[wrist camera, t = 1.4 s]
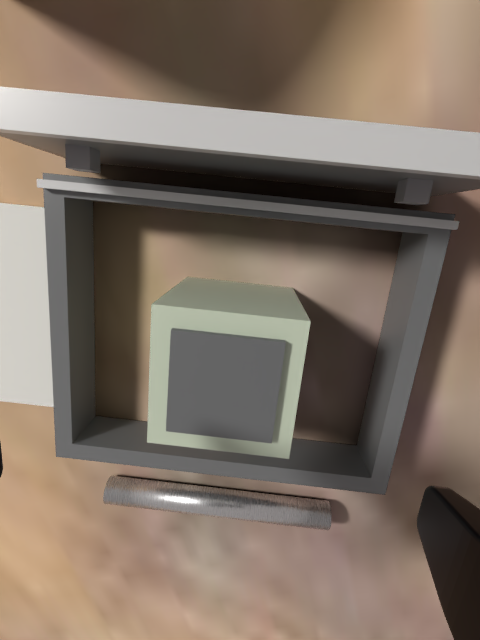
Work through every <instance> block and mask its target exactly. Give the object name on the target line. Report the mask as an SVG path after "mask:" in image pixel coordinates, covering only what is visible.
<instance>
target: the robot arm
mask: <svg viewBox="0 0 480 640" xmlns="http://www.w3.org/2000/svg"><path fill="white" fill-rule="evenodd" d="M2 470H3V464H2V453H1V443H0V477H1V475H2ZM417 528H418V532H419V535H420V539H421V542H422V545H423V548H424V552H425V555H426V558H427V561H428V565H429V568H430V571H431V574H432V577H433V581H434V584H435V587H436V590H437V594H438V597H439V600H440V603H441V606H442V609H443V612H444V615H445V617H446V620H447V623H448V625H449V628H450V630H451V633H452V635H453V638H454V640H480V509H479V508H477V507H476V506H475V505H473V504H472V503H470V502H469V501H467V500H466V499H464V498H463V497H462V496H460V495H459V494H457V493H456V492H454V491H453V490H451V489H449V488H446V487H437V486H429V487H427V488H426V490H425V492H424V496H423V499H422V503H421V506H420V510H419V513H418V517H417Z"/></svg>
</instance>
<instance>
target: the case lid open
mask: <svg viewBox="0 0 480 640" xmlns="http://www.w3.org/2000/svg"><path fill="white" fill-rule="evenodd" d="M0 136H2V137H5V138H8V139H10V140H13V141H16V142H19V143H22V144H25V145H28V146H31V147H34V148H37V149H40V150H43V151H46V152H49V153H52V154H55V155H58V156H61V157H64V158H66V168H69V169H73V170H76V171H83V172H93V173H100V164H108V165H118V166H128V167H138V168H148V169H158V170H168V171H178V172H188V173H198V174H208V175H218V176H228V177H238V178H248V179H258V180H268V181H278V182H288V183H298V184H308V185H318V186H328V187H338V188H348V189H358V190H368V191H378V192H388V193H396V196H395V201H394V203H402V204H412V205H423V204H428V203H429V199H430V196H437V195H443V194H450V193H456V192H463V191H469V190H476V189H480V133H476V132H466V131H456V130H445V129H435V128H425V127H414V126H404V125H394V124H383V123H373V122H362V121H352V120H342V119H331V118H321V117H311V116H300V115H290V114H279V113H269V112H259V111H248V110H238V109H228V108H217V107H207V106H196V105H186V104H176V103H165V102H155V101H145V100H134V99H124V98H113V97H103V96H93V95H82V94H72V93H62V92H51V91H41V90H30V89H20V88H10V87H0Z"/></svg>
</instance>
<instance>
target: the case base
mask: <svg viewBox="0 0 480 640" xmlns="http://www.w3.org/2000/svg"><path fill="white" fill-rule="evenodd" d="M37 187H39V188H43V190H44V211H45V233H46V254H47V275H48V296H49V318H50V339H51V360H52V381H53V402H54V424H55V445H56V457H64V458H73V459H81V460H90V461H99V462H107V463H116V464H124V465H133V466H142V467H150V468H159V469H168V470H176V471H185V472H194V473H202V474H211V475H219V476H228V477H237V478H245V479H254V480H263V481H271V482H280V483H288V484H297V485H306V486H314V487H323V488H332V489H340V490H349V491H357V492H366V493H375V494H383V495H385V493H386V489H387V485H388V481H389V477H390V473H391V469H392V465H393V461H394V457H395V453H396V449H397V445H398V441H399V437H400V433H401V429H402V425H403V421H404V417H405V413H406V409H407V405H408V401H409V397H410V393H411V389H412V385H413V381H414V377H415V373H416V369H417V365H418V361H419V357H420V353H421V349H422V345H423V341H424V337H425V333H426V329H427V325H428V321H429V317H430V313H431V309H432V305H433V301H434V297H435V293H436V289H437V285H438V281H439V277H440V273H441V269H442V266H443V262H444V258H445V254H446V250H447V246H448V242H449V238H450V234H451V230H457V229H458V225H459V221H454V218H455V214H446V213H436V212H426V211H416V210H406V209H396V208H386V207H376V206H366V205H356V204H346V203H337V202H327V201H317V200H307V199H297V198H287V197H277V196H267V195H257V194H247V193H237V192H227V191H217V190H208V189H198V188H188V187H178V186H168V185H158V184H148V183H138V182H128V181H118V180H108V179H98V178H89V177H79V176H69V175H59V174H49V173H43V179H37ZM93 201H98V202H108V203H118V204H128V205H137V206H147V207H157V208H167V209H177V210H187V211H196V212H206V213H216V214H226V215H236V216H245V217H255V218H265V219H275V220H285V221H294V222H304V223H314V224H324V225H334V226H343V227H353V228H363V229H373V230H383V231H392V232H402V237H401V242H400V246H399V251H398V256H397V260H396V265H395V270H394V274H393V279H392V284H391V288H390V293H389V297H388V302H387V307H386V311H385V316H384V321H383V325H382V330H381V335H380V339H379V344H378V349H377V353H376V358H375V363H374V367H373V372H372V377H371V381H370V386H369V390H368V395H367V400H366V404H365V409H364V414H363V418H362V423H361V428H360V432H359V437H358V442H357V446H356V445H347V444H338V443H330V442H321V441H312V440H303V439H294V438H292V443H291V449H290V456H289V459H285V458H277V457H268V456H259V455H251V454H242V453H234V452H225V451H216V450H208V449H199V448H190V447H182V446H173V445H165V444H156V443H147V427H148V422H145V421H136V420H127V419H118V418H109V417H101V416H96V410H95V327H94V243H93Z"/></svg>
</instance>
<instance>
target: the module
mask: <svg viewBox="0 0 480 640" xmlns="http://www.w3.org/2000/svg"><path fill="white" fill-rule="evenodd" d="M310 323H311V321H310V319H309V317H308V315H307V313H306V312H305V310H304V308H303V306H302V304H301V302H300V301H299V299H298V297H297V295H296V293H295V291H294V290H293V288H289V287H280V286H271V285H261V284H252V283H242V282H233V281H223V280H214V279H205V278H195V277H187V278H185V279H184V280H183V281H181V282H180V283H179V284H177V285H176V286H175V287H173V288H172V289H171V290H170V291H168V292H167V293H166V294H164V295H163V296H162V297H160V298H159V299H158V300H156V301H155V302H154V303H152V307H151V337H150V367H149V397H148V427H147V443H156V444H165V445H173V446H182V447H190V448H199V449H208V450H216V451H225V452H234V453H242V454H251V455H259V456H268V457H277V458H285V459H289V456H290V449H291V443H292V437H293V430H294V424H295V418H296V411H297V405H298V399H299V392H300V386H301V380H302V374H303V367H304V361H305V355H306V348H307V342H308V336H309V329H310Z"/></svg>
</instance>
